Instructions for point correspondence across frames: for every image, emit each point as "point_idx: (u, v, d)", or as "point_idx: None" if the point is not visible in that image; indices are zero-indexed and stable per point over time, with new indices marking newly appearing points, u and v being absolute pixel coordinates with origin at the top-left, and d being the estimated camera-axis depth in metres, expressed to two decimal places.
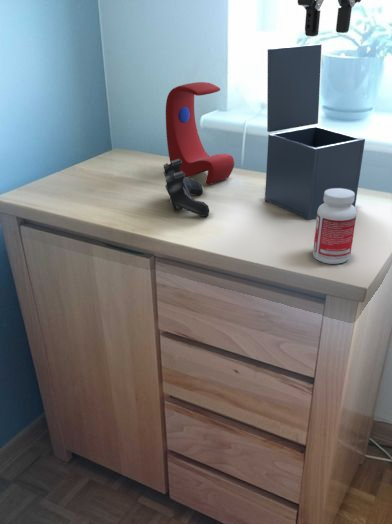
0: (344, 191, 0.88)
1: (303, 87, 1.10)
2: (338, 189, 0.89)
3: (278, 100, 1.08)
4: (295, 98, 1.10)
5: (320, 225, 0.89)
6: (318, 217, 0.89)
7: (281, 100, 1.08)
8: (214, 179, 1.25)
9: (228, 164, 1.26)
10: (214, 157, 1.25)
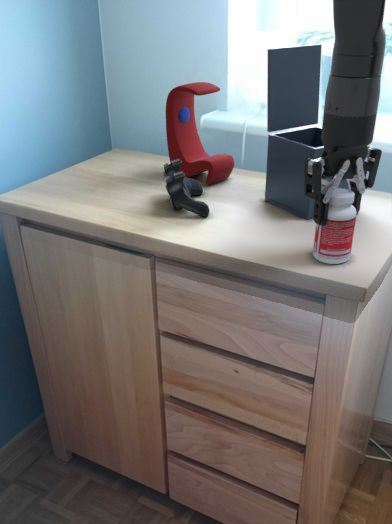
0: (344, 191, 0.88)
1: (303, 87, 1.10)
2: (337, 189, 0.89)
3: (278, 100, 1.08)
4: (295, 98, 1.10)
5: (320, 225, 0.89)
6: None
7: (281, 100, 1.08)
8: (214, 179, 1.25)
9: (228, 164, 1.26)
10: (214, 157, 1.25)
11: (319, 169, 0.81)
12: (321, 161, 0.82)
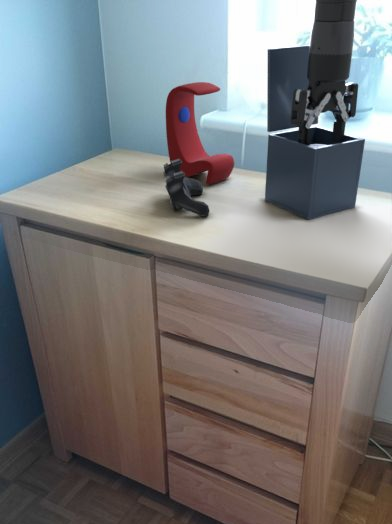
0: None
1: (303, 87, 1.10)
2: (317, 144, 1.09)
3: (278, 100, 1.08)
4: None
5: None
6: None
7: (281, 100, 1.08)
8: (214, 179, 1.25)
9: (228, 164, 1.26)
10: (214, 157, 1.25)
11: (305, 97, 0.99)
12: (307, 91, 1.00)
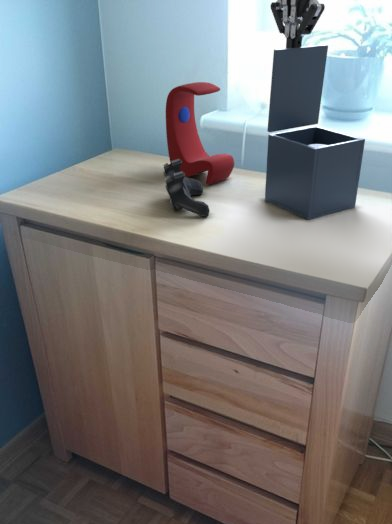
0: None
1: (306, 88, 1.09)
2: (317, 144, 1.09)
3: (280, 100, 1.07)
4: (297, 99, 1.09)
5: None
6: None
7: (283, 101, 1.08)
8: (214, 179, 1.25)
9: (228, 164, 1.26)
10: (214, 157, 1.25)
11: (273, 8, 1.06)
12: (278, 0, 1.05)
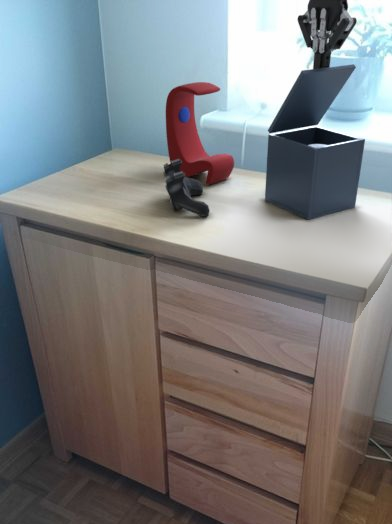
0: None
1: (319, 100, 1.07)
2: (317, 144, 1.09)
3: (290, 110, 1.06)
4: (306, 108, 1.08)
5: None
6: None
7: (293, 110, 1.06)
8: (214, 179, 1.25)
9: (228, 164, 1.26)
10: (214, 157, 1.25)
11: (301, 21, 1.01)
12: (306, 13, 1.00)
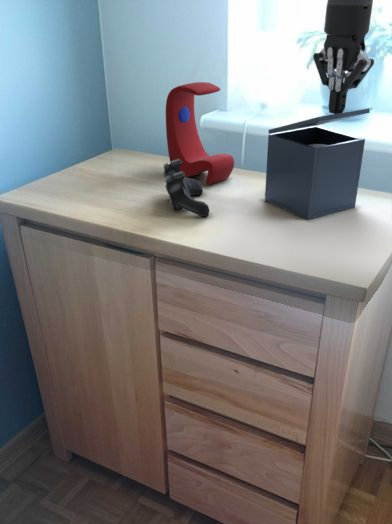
0: None
1: (325, 122, 1.07)
2: (317, 144, 1.09)
3: None
4: (311, 125, 1.08)
5: None
6: None
7: (297, 127, 1.07)
8: (214, 179, 1.25)
9: (228, 164, 1.26)
10: (214, 157, 1.25)
11: (317, 58, 1.00)
12: (322, 51, 1.00)
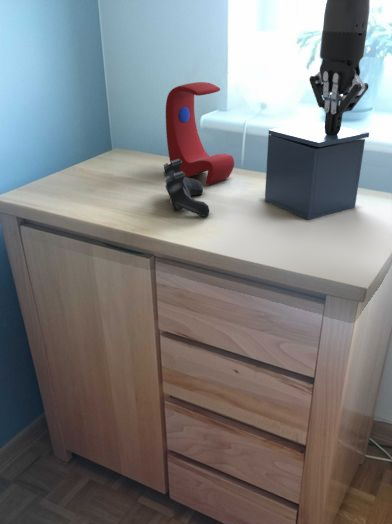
0: None
1: None
2: None
3: None
4: None
5: None
6: None
7: None
8: (214, 179, 1.25)
9: (228, 164, 1.26)
10: (214, 157, 1.25)
11: (313, 81, 1.03)
12: (318, 74, 1.02)
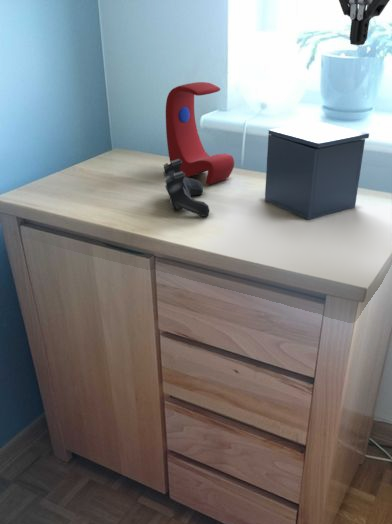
0: None
1: None
2: None
3: None
4: None
5: None
6: None
7: None
8: (214, 179, 1.25)
9: (228, 164, 1.26)
10: (214, 157, 1.25)
11: None
12: None
